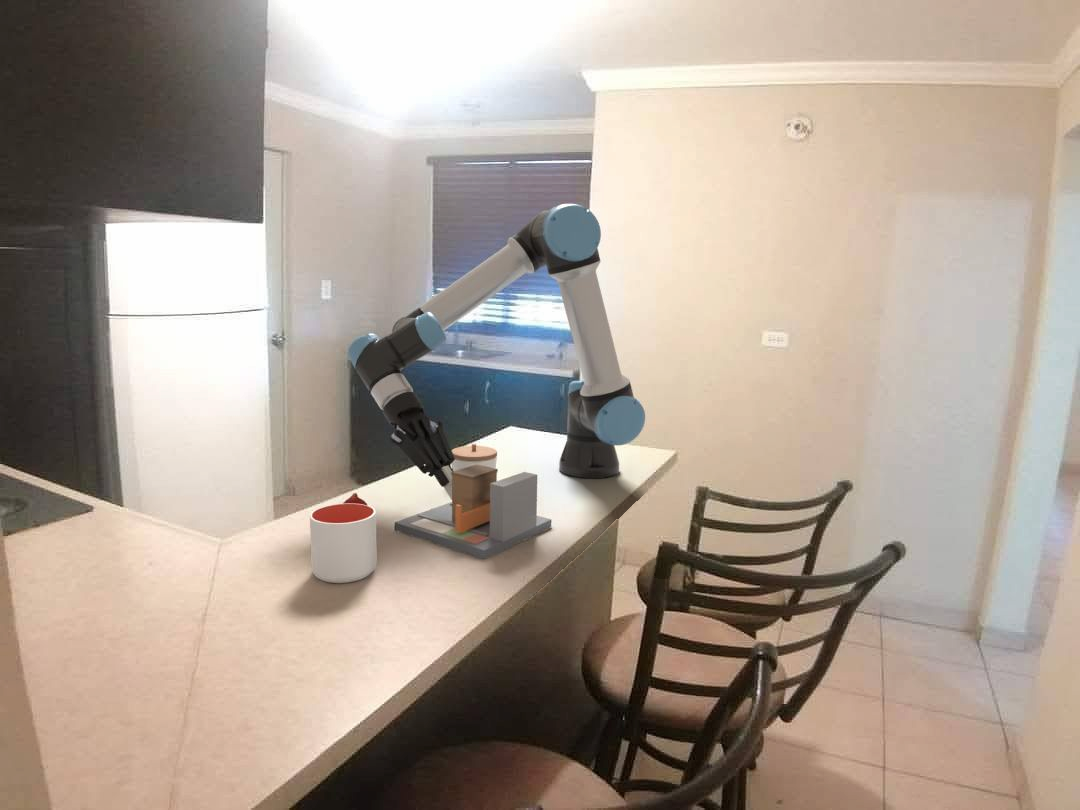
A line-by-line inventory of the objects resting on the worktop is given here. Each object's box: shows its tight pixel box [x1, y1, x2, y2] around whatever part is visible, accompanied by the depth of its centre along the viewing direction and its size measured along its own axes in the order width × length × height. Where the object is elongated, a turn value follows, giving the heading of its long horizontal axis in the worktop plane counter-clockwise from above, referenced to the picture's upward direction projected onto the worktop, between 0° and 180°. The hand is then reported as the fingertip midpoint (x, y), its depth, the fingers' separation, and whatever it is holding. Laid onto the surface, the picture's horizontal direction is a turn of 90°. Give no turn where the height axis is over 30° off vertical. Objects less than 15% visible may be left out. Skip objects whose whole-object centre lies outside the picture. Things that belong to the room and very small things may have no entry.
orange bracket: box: [455, 503, 490, 533], centre depth 126 cm, size 11×1×5 cm, turn 145°
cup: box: [309, 503, 378, 584], centre depth 109 cm, size 10×10×10 cm
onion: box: [342, 492, 369, 506], centre depth 126 cm, size 6×6×8 cm
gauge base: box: [393, 471, 552, 560], centre depth 130 cm, size 20×22×12 cm
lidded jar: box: [451, 443, 498, 471], centre depth 160 cm, size 11×11×9 cm
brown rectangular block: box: [451, 464, 498, 522], centre depth 130 cm, size 7×5×10 cm
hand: (459, 497), depth 132 cm, fingers closed
